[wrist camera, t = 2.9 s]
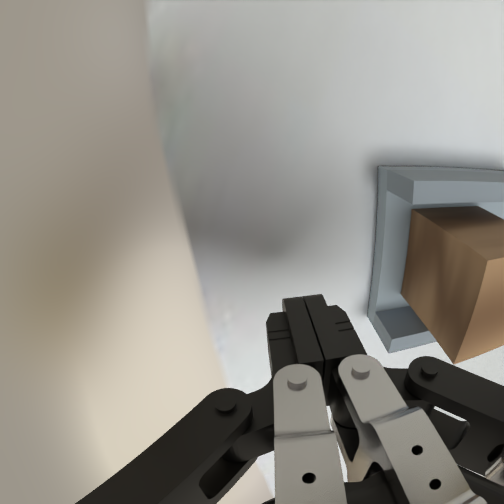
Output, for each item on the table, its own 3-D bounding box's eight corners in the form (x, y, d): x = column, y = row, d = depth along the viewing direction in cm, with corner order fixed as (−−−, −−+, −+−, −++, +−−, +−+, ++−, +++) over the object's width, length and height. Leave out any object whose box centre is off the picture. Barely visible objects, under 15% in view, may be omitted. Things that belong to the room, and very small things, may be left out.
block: (411, 209, 14) (487, 260, 8) (478, 206, 14) (551, 247, 8) (400, 294, 16) (453, 364, 10) (463, 282, 16) (520, 337, 10)
